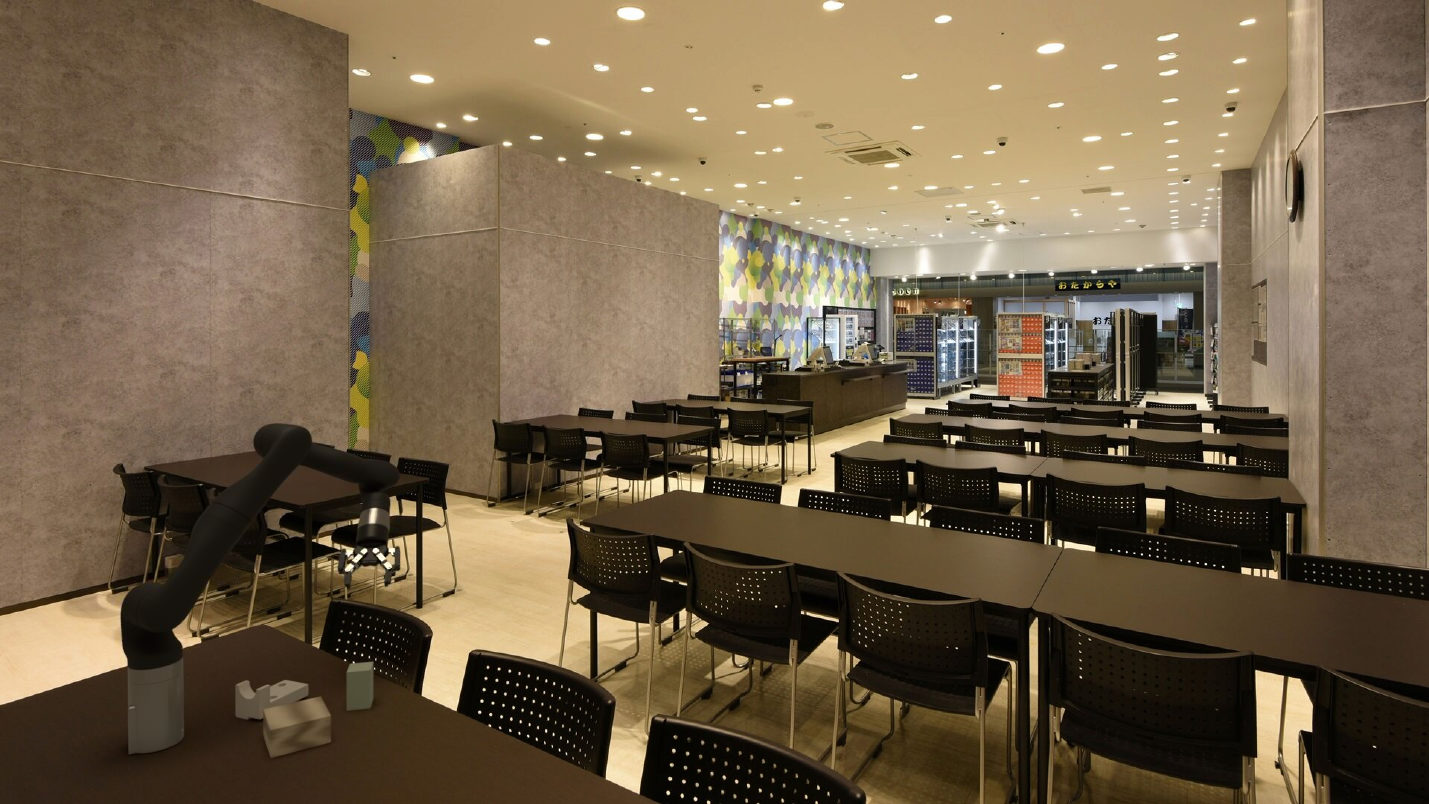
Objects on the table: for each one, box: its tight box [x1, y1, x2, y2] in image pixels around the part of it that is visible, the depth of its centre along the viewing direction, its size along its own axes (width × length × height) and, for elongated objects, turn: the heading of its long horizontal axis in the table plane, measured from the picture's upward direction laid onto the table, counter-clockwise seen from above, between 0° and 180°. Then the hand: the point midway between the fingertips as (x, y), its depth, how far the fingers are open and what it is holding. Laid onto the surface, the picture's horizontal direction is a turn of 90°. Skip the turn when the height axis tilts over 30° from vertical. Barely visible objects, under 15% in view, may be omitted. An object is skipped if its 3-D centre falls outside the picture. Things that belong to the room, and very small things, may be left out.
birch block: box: [262, 696, 332, 759], centre depth 158 cm, size 11×11×6 cm
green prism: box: [346, 661, 374, 712], centre depth 174 cm, size 5×5×9 cm
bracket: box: [235, 679, 309, 720], centre depth 172 cm, size 13×7×8 cm, turn 162°
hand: (367, 586), depth 184 cm, fingers open, 8 cm apart
